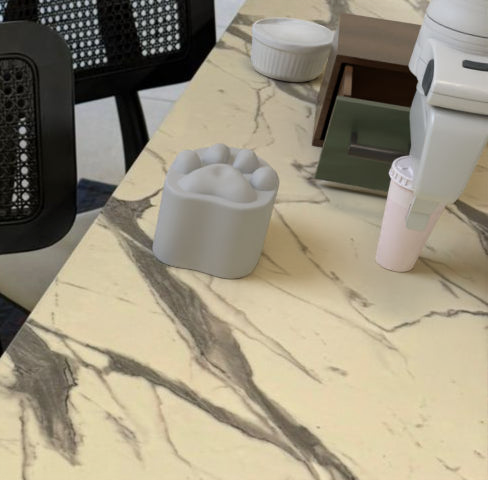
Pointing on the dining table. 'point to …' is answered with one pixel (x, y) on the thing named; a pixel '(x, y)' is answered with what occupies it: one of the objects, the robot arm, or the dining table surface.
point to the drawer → (367, 127)
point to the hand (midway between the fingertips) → (412, 204)
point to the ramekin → (290, 48)
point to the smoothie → (402, 221)
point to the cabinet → (362, 56)
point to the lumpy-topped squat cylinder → (215, 211)
